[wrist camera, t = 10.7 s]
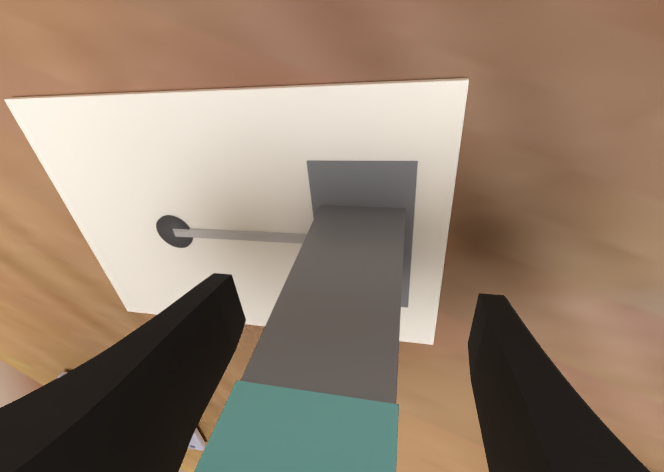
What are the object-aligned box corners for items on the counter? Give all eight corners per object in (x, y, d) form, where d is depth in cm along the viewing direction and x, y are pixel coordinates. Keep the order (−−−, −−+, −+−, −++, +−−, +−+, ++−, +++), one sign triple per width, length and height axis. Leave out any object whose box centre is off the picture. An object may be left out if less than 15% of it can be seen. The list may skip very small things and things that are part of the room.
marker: (325, 270, 14) (230, 563, 7) (318, 204, 12) (179, 502, 5) (403, 276, 13) (388, 605, 6) (407, 206, 12) (392, 552, 4)
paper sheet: (131, 307, 19) (126, 312, 19) (11, 97, 13) (1, 100, 12) (432, 339, 16) (433, 346, 15) (467, 78, 10) (469, 80, 9)
